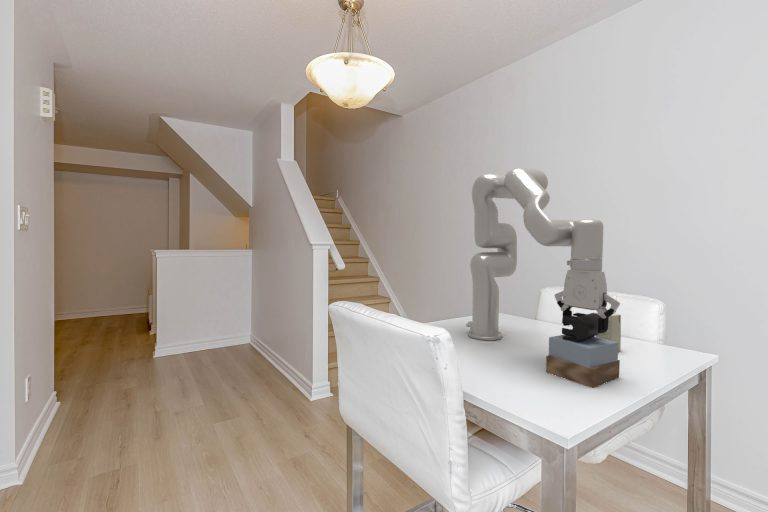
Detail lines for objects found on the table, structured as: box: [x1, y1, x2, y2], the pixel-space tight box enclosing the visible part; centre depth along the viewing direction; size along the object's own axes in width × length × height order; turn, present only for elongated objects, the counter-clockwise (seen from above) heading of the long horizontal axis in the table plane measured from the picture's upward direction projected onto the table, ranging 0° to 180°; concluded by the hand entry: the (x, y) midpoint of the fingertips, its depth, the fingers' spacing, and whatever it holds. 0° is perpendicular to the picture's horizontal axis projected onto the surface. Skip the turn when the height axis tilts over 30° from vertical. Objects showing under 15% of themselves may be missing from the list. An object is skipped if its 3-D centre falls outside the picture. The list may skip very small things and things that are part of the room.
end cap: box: [561, 312, 601, 342], centre depth 105 cm, size 10×7×7 cm
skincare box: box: [595, 312, 622, 353], centre depth 128 cm, size 6×4×12 cm
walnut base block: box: [545, 354, 621, 389], centre depth 105 cm, size 13×13×5 cm
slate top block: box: [548, 334, 619, 368], centre depth 105 cm, size 12×12×5 cm
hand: (584, 328), depth 105 cm, fingers open, 9 cm apart
